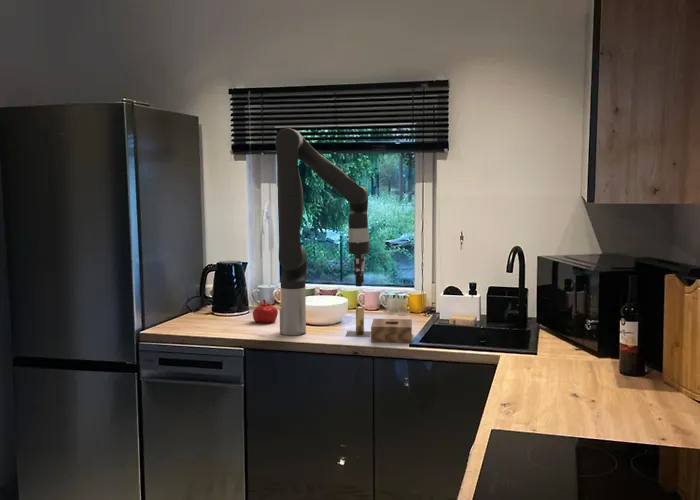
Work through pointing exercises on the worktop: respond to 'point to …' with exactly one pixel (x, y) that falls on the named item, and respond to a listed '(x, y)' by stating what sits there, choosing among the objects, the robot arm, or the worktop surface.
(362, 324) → the peg
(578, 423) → the worktop surface
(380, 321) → the hole block
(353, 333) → the mat
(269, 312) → the pomegranate
